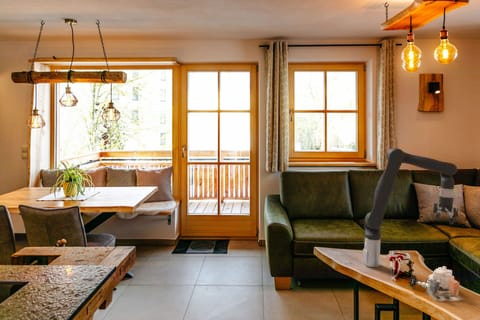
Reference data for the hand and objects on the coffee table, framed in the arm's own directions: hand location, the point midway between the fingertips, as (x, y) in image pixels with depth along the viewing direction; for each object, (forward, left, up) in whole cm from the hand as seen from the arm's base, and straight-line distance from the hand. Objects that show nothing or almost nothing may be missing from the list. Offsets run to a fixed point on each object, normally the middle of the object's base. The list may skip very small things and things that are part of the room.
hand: (444, 222), depth 222 cm
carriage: (-15, -37, -28) cm, 49 cm away
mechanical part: (-16, -26, -30) cm, 42 cm away
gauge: (-20, -37, -30) cm, 52 cm away
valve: (-27, -28, -30) cm, 49 cm away
